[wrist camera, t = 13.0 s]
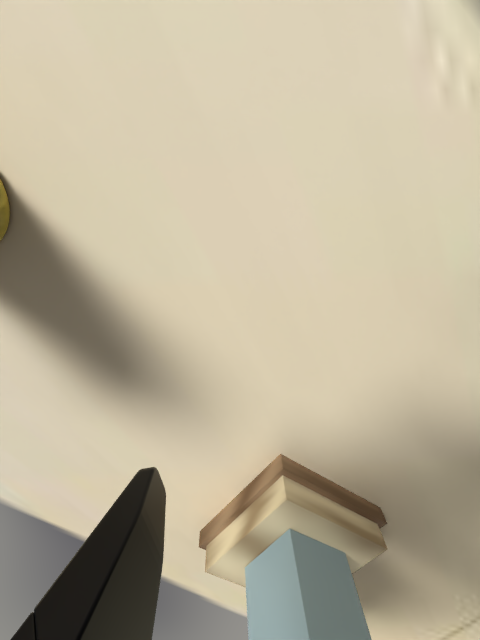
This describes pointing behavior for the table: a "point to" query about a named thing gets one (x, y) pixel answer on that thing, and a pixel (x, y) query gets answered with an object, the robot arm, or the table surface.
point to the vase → (3, 211)
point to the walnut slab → (298, 475)
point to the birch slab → (299, 515)
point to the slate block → (302, 593)
